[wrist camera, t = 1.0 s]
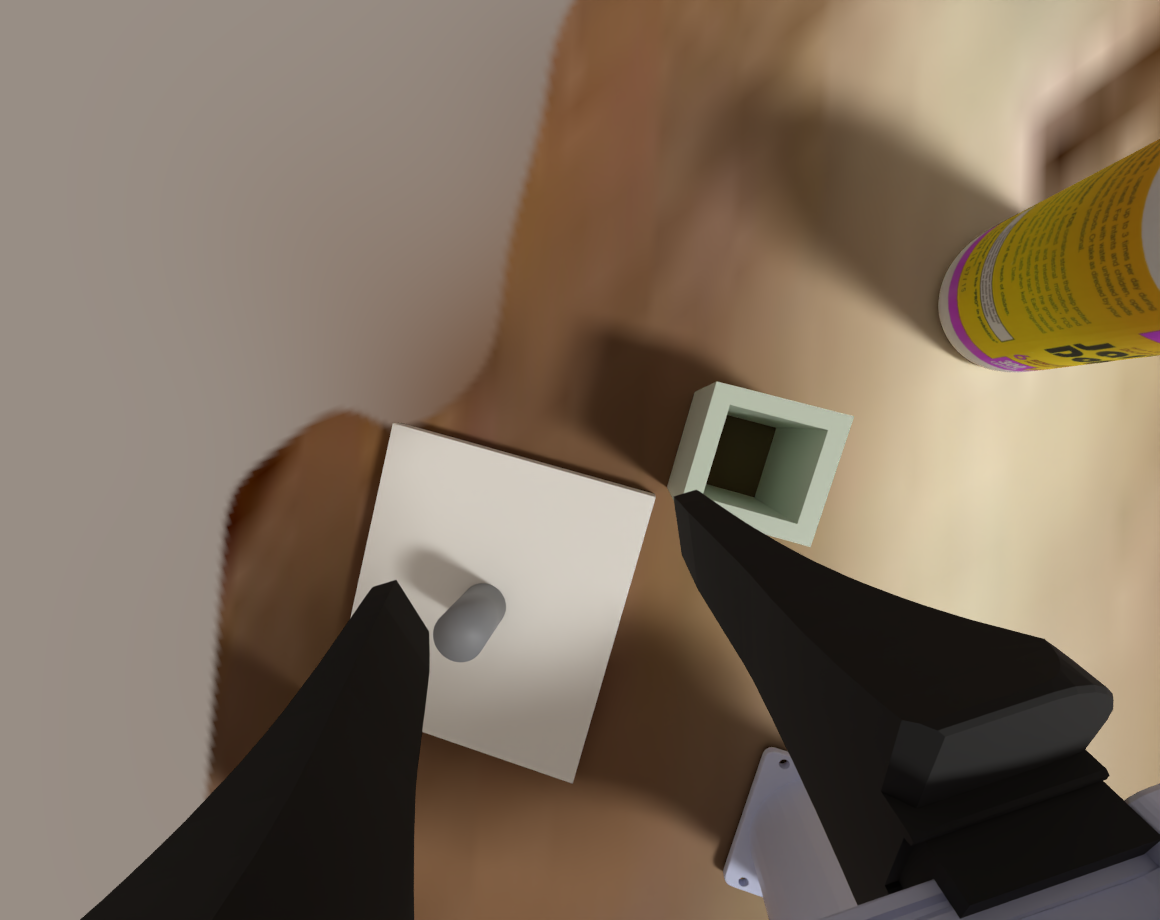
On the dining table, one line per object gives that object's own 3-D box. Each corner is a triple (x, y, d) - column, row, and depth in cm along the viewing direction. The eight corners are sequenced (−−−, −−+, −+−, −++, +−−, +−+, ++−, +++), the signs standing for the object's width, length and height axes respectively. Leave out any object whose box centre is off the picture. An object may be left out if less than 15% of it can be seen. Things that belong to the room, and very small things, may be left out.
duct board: (654, 493, 23) (659, 510, 19) (574, 769, 25) (562, 844, 21) (402, 423, 25) (351, 423, 20) (343, 690, 26) (284, 745, 22)
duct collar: (795, 417, 22) (853, 416, 16) (763, 514, 23) (810, 547, 17) (694, 391, 23) (716, 381, 17) (666, 487, 23) (678, 509, 17)
